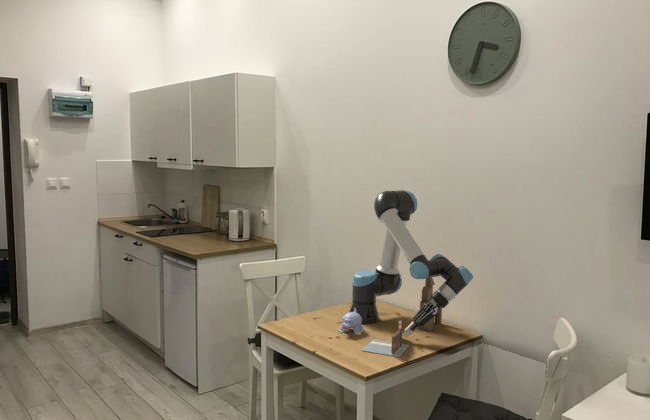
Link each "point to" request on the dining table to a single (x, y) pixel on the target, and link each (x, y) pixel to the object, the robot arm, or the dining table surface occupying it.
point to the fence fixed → (396, 341)
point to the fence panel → (400, 324)
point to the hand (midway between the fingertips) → (404, 334)
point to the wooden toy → (426, 297)
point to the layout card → (383, 348)
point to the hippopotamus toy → (352, 323)
